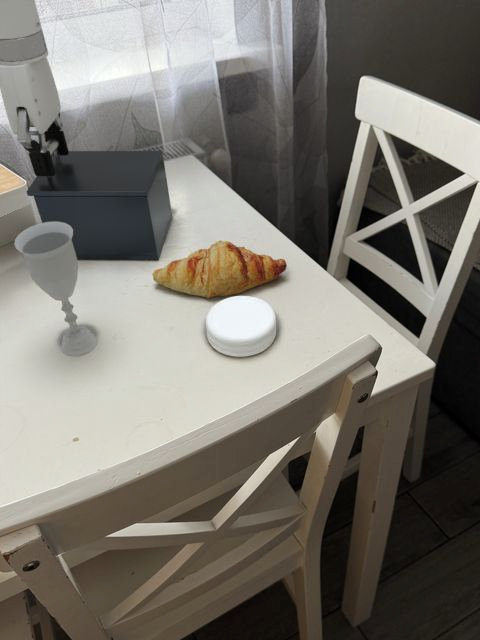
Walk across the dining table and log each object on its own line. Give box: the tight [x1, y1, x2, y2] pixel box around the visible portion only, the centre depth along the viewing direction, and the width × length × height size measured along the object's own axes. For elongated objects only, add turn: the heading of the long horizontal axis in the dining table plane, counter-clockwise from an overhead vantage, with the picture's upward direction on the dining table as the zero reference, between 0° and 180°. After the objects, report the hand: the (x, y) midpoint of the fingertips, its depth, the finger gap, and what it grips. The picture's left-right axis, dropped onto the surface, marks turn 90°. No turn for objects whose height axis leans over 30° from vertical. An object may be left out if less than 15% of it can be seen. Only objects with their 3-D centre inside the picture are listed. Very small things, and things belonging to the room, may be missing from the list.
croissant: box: [152, 240, 288, 299], centre depth 93 cm, size 21×10×8 cm, turn 95°
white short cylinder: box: [205, 295, 277, 358], centre depth 85 cm, size 10×10×4 cm
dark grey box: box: [33, 155, 173, 262], centre depth 101 cm, size 18×14×12 cm
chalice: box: [14, 222, 98, 357], centre depth 79 cm, size 7×7×18 cm
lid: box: [26, 137, 164, 197], centre depth 96 cm, size 19×14×5 cm
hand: (52, 163), depth 96 cm, fingers open, 6 cm apart
